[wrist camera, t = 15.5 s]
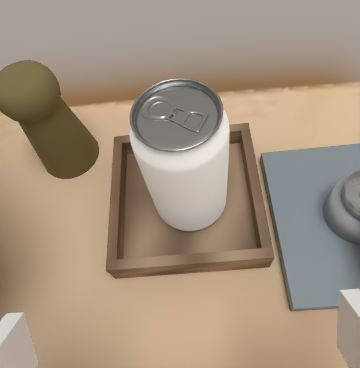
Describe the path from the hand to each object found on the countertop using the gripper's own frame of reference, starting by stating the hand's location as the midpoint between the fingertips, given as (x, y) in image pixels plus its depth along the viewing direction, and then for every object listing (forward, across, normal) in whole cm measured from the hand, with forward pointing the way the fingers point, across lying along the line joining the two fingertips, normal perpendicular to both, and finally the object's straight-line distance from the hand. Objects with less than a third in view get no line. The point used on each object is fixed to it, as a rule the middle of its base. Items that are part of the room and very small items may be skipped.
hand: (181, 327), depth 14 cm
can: (+17, 0, -1) cm, 17 cm away
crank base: (+15, +14, -3) cm, 21 cm away
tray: (+17, 0, -1) cm, 17 cm away
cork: (+23, -12, +4) cm, 26 cm away
